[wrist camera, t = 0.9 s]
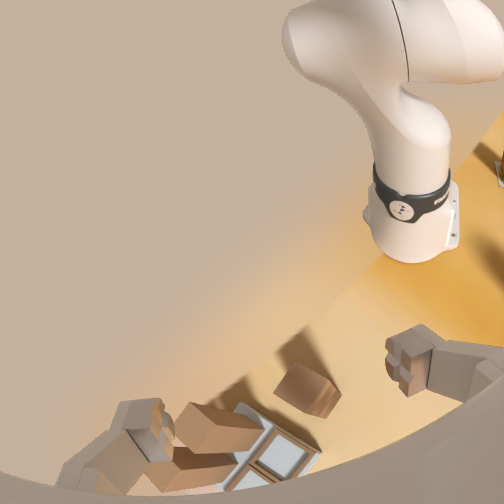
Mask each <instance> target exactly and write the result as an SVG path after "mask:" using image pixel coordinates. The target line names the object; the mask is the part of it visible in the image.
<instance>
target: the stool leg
mask: <svg viewBox="0 0 504 504" xmlns="http://www.w3.org/2000/svg"><path fill="white" fill-rule="evenodd" d="M273 394H275V395H276V396H278V397H280V398H281V399H283V400H284V401H286V402H287V403H289V404H291V405H292V406H294V407H296V408H297V409H299V410H301V411H302V412H304V413H306V414H310V415H313V416H317V417H321V418H325V419H326V418H327V417H328V415H329V414H330V412H331V411H332V409H333V408H334V406H335V405H336V403H337V402H338V400H339V399H340V397H341V394H340V392H339V391H338V390H337V389H336V388H335V387H334V385H333V384H332V383H331V382H330V381H329V380H328V379H327V378H325V377H323V376H321V375H320V374H318V373H316V372H314V371H312V370H310V369H309V368H307V367H305V366H303V365H301V364H300V363H298V362H296V361H294V363H293V364H292V366H291V367H290V369H289V370H288V372H287V373H286V375H285V376H284V378H283V379H282V381H281V382H280V384H279V385H278V386H277V388H276V389H275V391H274V392H273Z"/></svg>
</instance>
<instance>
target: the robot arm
mask: <svg viewBox="0 0 504 504" xmlns="http://www.w3.org/2000/svg"><path fill="white" fill-rule="evenodd" d="M282 44H283V48H284V51H285V54H286V56H287V58H288V60H289V61H290V63H291V64H292V66H293V67H294V68H295V69H296V70H297V71H298V72H299V73H300V74H301V75H302V76H304V77H305V78H306V79H308V80H309V81H311V82H314V83H316V84H319V85H321V86H323V87H326V88H327V89H329V90H331V91H333V92H334V93H336V94H337V95H339V96H340V97H342V98H343V99H344V100H345V101H346V102H347V103H349V104H350V105H351V106H352V107H353V108H354V110H355V111H356V112H357V113H358V114H359V116H360V117H361V119H362V120H363V122H364V123H365V125H366V128H367V131H368V134H369V137H370V141H371V145H372V149H373V155H374V165H373V184H372V185H371V186H369V189H368V202H369V203H368V204H369V205H368V206H367V207H366V208H365V210H364V211H363V218H364V220H365V221H366V223H367V224H368V225H369V226H370V228H371V231H372V235H373V239H374V240H375V243H376V244H377V246H378V247H379V248H380V249H381V251H382V252H384V253H385V254H386V255H388V256H389V257H391V258H393V259H395V260H398V261H401V262H406V263H420V262H424V261H427V260H430V259H432V258H434V257H435V256H437V255H438V254H440V253H441V252H443V251H447V250H452V249H455V248H457V247H458V244H459V193H458V185H457V184H456V183H455V182H454V181H452V180H451V172H450V168H449V160H450V146H451V131H450V127H449V124H448V122H447V120H446V118H445V117H444V115H443V114H442V113H441V112H440V111H439V110H438V109H437V108H436V107H434V106H433V105H432V104H431V103H429V102H427V101H426V100H424V99H422V98H419V97H417V96H415V95H413V94H411V93H410V92H408V91H407V90H405V89H404V88H403V87H402V86H401V85H402V84H403V83H408V82H429V83H451V84H471V83H481V82H488V81H495V80H497V79H498V78H499V77H500V76H501V75H502V73H503V71H504V31H503V28H502V26H501V24H500V23H499V21H498V19H497V18H496V17H495V15H494V14H493V13H492V12H491V11H490V9H489V8H488V7H487V6H485V5H484V4H483V3H482V2H480V1H479V0H314V1H311V2H309V3H306V4H304V5H301V6H299V7H297V8H294V9H292V10H291V11H290V12H289V13H288V15H287V16H286V19H285V21H284V24H283V29H282ZM451 235H453V236H454V237H453V236H451ZM385 348H386V349H387V350H388V351H389V352H388V354H387V356H386V358H385V366H386V370H387V373H388V374H389V376H390V378H391V379H392V380H393V381H397V382H399V388H400V389H401V390H402V392H403V393H404V394H405V395H406V396H407V397H410V396H412V395H414V394H416V393H418V392H420V391H422V390H424V389H426V388H427V390H430V391H433V392H435V393H438V394H441V395H444V396H446V397H449V398H452V399H455V400H458V401H461V402H463V404H462V405H460V406H459V407H457V408H455V409H454V410H452V411H451V412H449V413H447V414H446V415H444V416H442V417H441V418H439V419H437V420H436V421H434V422H432V423H430V424H429V425H427V426H425V427H423V428H421V429H419V430H418V431H416V432H414V433H412V434H410V435H408V436H406V437H404V438H402V439H400V440H398V441H396V442H394V443H391V444H389V445H387V446H385V447H383V448H380V449H378V450H376V451H373V452H371V453H369V454H366V455H364V456H361V457H359V458H356V459H353V460H351V461H348V462H345V463H342V464H340V465H337V466H334V467H331V468H328V469H325V470H321V471H318V472H315V473H312V474H308V475H305V476H301V477H297V478H293V479H289V480H285V481H281V482H277V483H272V484H268V485H263V486H258V487H252V488H247V489H240V490H234V491H227V492H219V493H210V494H199V495H184V496H126V494H127V493H128V492H129V490H130V489H131V488H132V487H133V486H134V484H135V483H136V482H137V480H138V479H139V478H140V477H141V475H142V474H143V473H144V472H145V470H146V469H147V468H148V466H149V465H150V463H155V462H168V461H172V458H173V449H174V447H173V445H172V444H171V442H172V441H173V440H174V439H175V427H174V423H173V420H172V418H171V416H170V415H169V414H168V413H166V412H165V411H164V408H165V405H164V403H163V402H162V400H161V399H160V398H151V399H140V400H129V401H121V402H120V403H119V405H118V408H117V410H116V413H115V416H114V418H113V421H112V424H111V426H110V429H109V431H105V432H103V433H102V434H101V435H100V436H99V437H97V438H96V439H95V440H93V441H92V442H91V443H90V444H88V445H87V446H86V447H85V448H83V449H82V450H81V451H80V452H78V453H77V454H76V455H75V456H73V457H72V458H71V459H69V460H68V461H67V462H66V463H64V465H63V467H62V470H61V472H60V475H59V477H58V480H57V482H56V485H55V486H50V485H46V484H41V483H38V482H34V481H30V480H25V479H22V478H19V477H16V476H12V475H9V474H6V473H3V472H0V504H504V348H502V347H498V346H490V345H482V344H474V343H467V342H460V341H453V340H448V341H445V340H444V339H442V338H441V337H440V336H438V335H437V334H436V333H434V332H433V331H431V330H430V329H429V328H427V327H426V326H425V325H423V324H418V325H416V326H414V327H412V328H410V329H409V330H406V331H404V332H402V333H399V334H397V335H394V336H392V337H390V338H387V340H386V344H385Z"/></svg>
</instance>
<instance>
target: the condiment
mask: <svg viewBox="0 0 504 504" xmlns="http://www.w3.org/2000/svg"><path fill="white" fill-rule="evenodd" d="M494 163H495V167H496V172H497V177H498V181H499V186H500V187H504V152H503V157H502V162H498V161H494Z"/></svg>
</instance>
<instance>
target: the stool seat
mask: <svg viewBox="0 0 504 504" xmlns="http://www.w3.org/2000/svg"><path fill="white" fill-rule="evenodd" d="M174 427H175V435H176V436H177V437H178V438H179V439H180V440H181V441H182V442H183V443H184V444H185V445H186V446H187V447H174V449H173V458H172V461H168V462H155V463H150V465H149V466H148V468H147V469H146V470H145V472H144V474H145V475H146V476H147V477H148V478H149V479H150V480H151V482H152V483H153V484H154V485H155V486H156V487H157V488H158V489H159V490H160V491H161V492H170V491H178V490H185V489H191V488H197V487H202V486H208V485H213V484H215V485H216V486H217V487H219V488H220V489H221V490H222V491H223V492H227V491H234V490H240V489H247V488H252V487H258V486H263V485H268V484H272V483H277V482H281V481H285V480H289V479H293V478H297V477H301V476H305V475H306V474H307V472H308V471H309V470H310V469H311V467H312V466H313V465H314V464H315V462H316V461H317V460H318V458H319V457H320V456H321V454H322V452H320V451H319V450H317V449H315V448H313V447H312V446H310V445H308V444H307V443H305V442H303V441H302V440H300V439H299V438H297V437H295V436H294V435H292V434H291V433H289V432H287V431H286V430H284V429H283V428H281V427H280V426H278V425H277V424H275V423H274V422H272V421H271V420H269V419H268V418H266V417H265V416H263V415H262V414H260V413H259V412H258V411H256V410H255V409H253V408H252V407H250V406H249V405H248V404H246V403H242V402H239V404H238V405H237V406H236V408H235V409H234V410H233V412H229V411H224V410H220V409H216V408H211V407H207V406H203V405H199V404H195V403H192V402H189V404H188V405H187V406H186V408H185V409H184V410H183V412H182V413H181V414H180V416H179V417H178V418H177V420H176V421H175V422H174Z"/></svg>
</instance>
